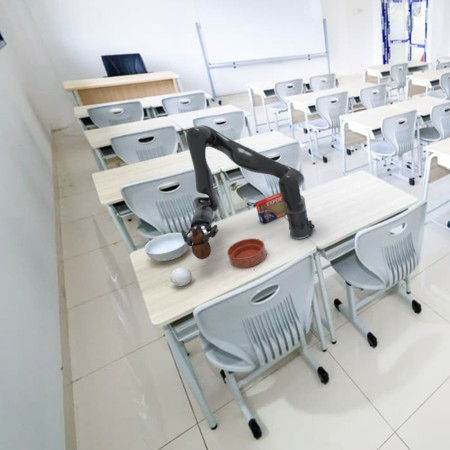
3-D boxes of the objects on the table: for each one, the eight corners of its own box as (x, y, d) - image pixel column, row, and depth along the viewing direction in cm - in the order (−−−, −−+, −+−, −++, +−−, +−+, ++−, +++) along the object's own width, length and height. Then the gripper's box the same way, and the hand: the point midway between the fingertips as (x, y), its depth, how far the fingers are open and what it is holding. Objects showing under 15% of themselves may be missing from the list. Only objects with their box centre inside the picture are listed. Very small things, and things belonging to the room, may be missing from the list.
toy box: (263, 224, 182) (259, 204, 176) (259, 221, 184) (255, 202, 178) (293, 211, 193) (290, 192, 187) (289, 209, 195) (286, 190, 189)
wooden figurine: (205, 262, 141) (193, 231, 133) (192, 260, 142) (180, 229, 134) (216, 252, 147) (205, 222, 139) (203, 250, 148) (192, 220, 140)
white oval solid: (189, 275, 147) (183, 261, 143) (197, 283, 143) (191, 269, 139) (163, 287, 141) (156, 273, 137) (171, 296, 137) (164, 281, 133)
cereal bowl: (182, 266, 152) (176, 253, 149) (142, 267, 152) (136, 254, 148) (198, 243, 167) (193, 231, 163) (162, 245, 166) (156, 232, 162)
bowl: (266, 245, 166) (263, 235, 163) (267, 264, 154) (264, 254, 151) (231, 251, 161) (228, 242, 158) (229, 272, 149) (226, 261, 146)
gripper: (180, 217, 147) (173, 239, 134) (217, 211, 151) (214, 232, 138) (186, 232, 151) (180, 254, 138) (222, 226, 156) (219, 247, 142)
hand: (197, 243), depth 138 cm, fingers closed on wooden figurine, 4 cm apart
